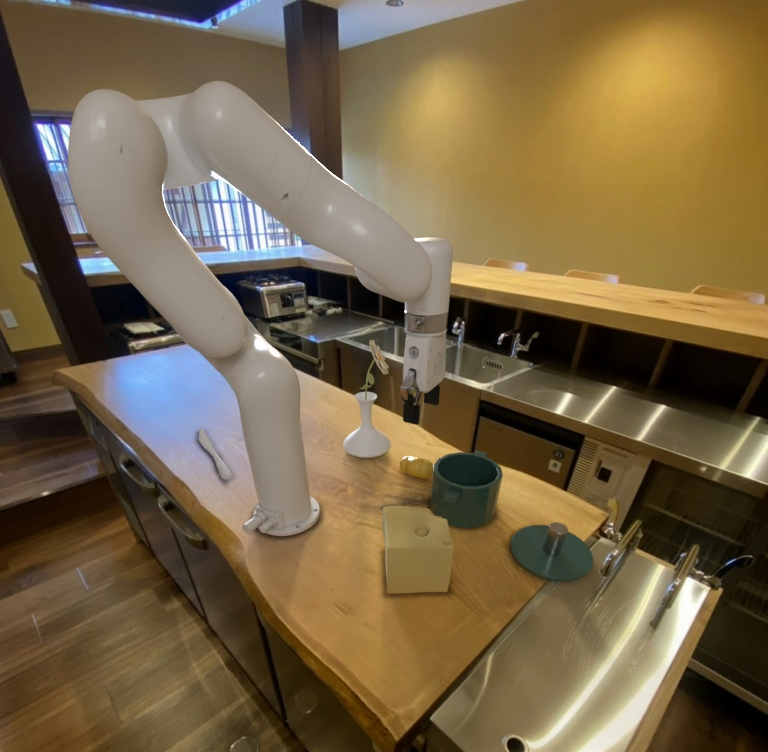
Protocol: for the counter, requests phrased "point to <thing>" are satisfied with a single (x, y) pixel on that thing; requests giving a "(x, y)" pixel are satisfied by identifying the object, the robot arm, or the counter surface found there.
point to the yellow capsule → (416, 467)
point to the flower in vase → (368, 418)
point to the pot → (465, 488)
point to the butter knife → (214, 455)
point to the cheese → (416, 550)
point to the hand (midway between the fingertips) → (421, 412)
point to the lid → (551, 552)
